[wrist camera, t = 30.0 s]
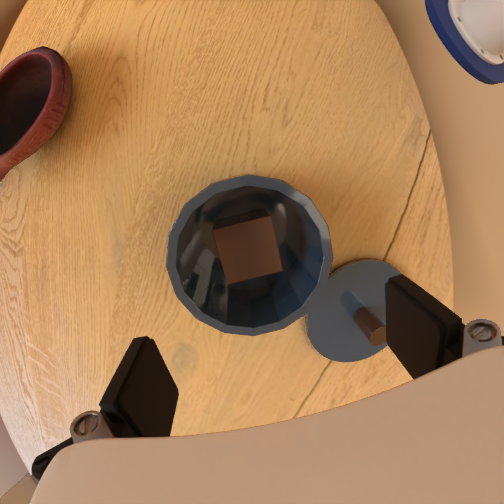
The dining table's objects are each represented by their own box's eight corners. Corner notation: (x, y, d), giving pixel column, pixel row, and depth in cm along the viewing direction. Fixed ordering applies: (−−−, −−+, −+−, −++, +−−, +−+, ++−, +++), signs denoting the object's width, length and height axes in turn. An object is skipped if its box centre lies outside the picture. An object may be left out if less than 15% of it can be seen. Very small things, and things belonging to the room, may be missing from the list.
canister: (292, 163, 28) (315, 159, 20) (315, 278, 32) (341, 313, 23) (170, 193, 28) (146, 202, 20) (204, 305, 32) (195, 348, 23)
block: (264, 208, 29) (270, 215, 24) (275, 255, 30) (283, 271, 25) (215, 220, 29) (211, 230, 24) (228, 267, 30) (227, 285, 25)
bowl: (14, 77, 22) (-23, 66, 14) (91, 48, 23) (58, 23, 15) (9, 194, 26) (-33, 202, 19) (84, 180, 27) (43, 185, 19)
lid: (402, 244, 31) (432, 259, 25) (404, 338, 35) (426, 362, 29) (295, 274, 31) (309, 298, 25) (312, 369, 35) (325, 400, 29)
